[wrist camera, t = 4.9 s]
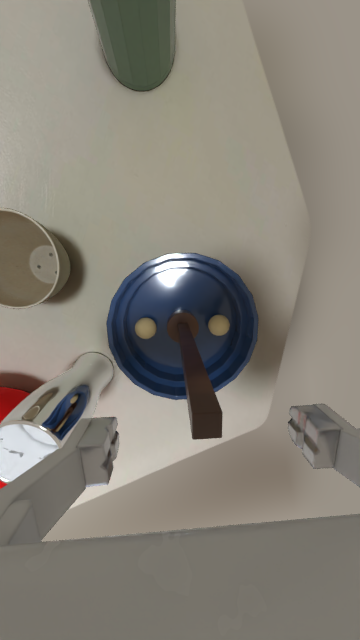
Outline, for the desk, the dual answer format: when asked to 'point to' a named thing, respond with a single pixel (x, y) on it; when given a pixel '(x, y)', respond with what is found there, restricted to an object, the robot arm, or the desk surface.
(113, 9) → the crock
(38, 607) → the robot arm
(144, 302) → the bowl
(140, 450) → the desk surface
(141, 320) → the dumpling
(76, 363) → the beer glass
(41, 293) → the flower pot
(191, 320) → the brown disc-ended rod
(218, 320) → the dumpling
